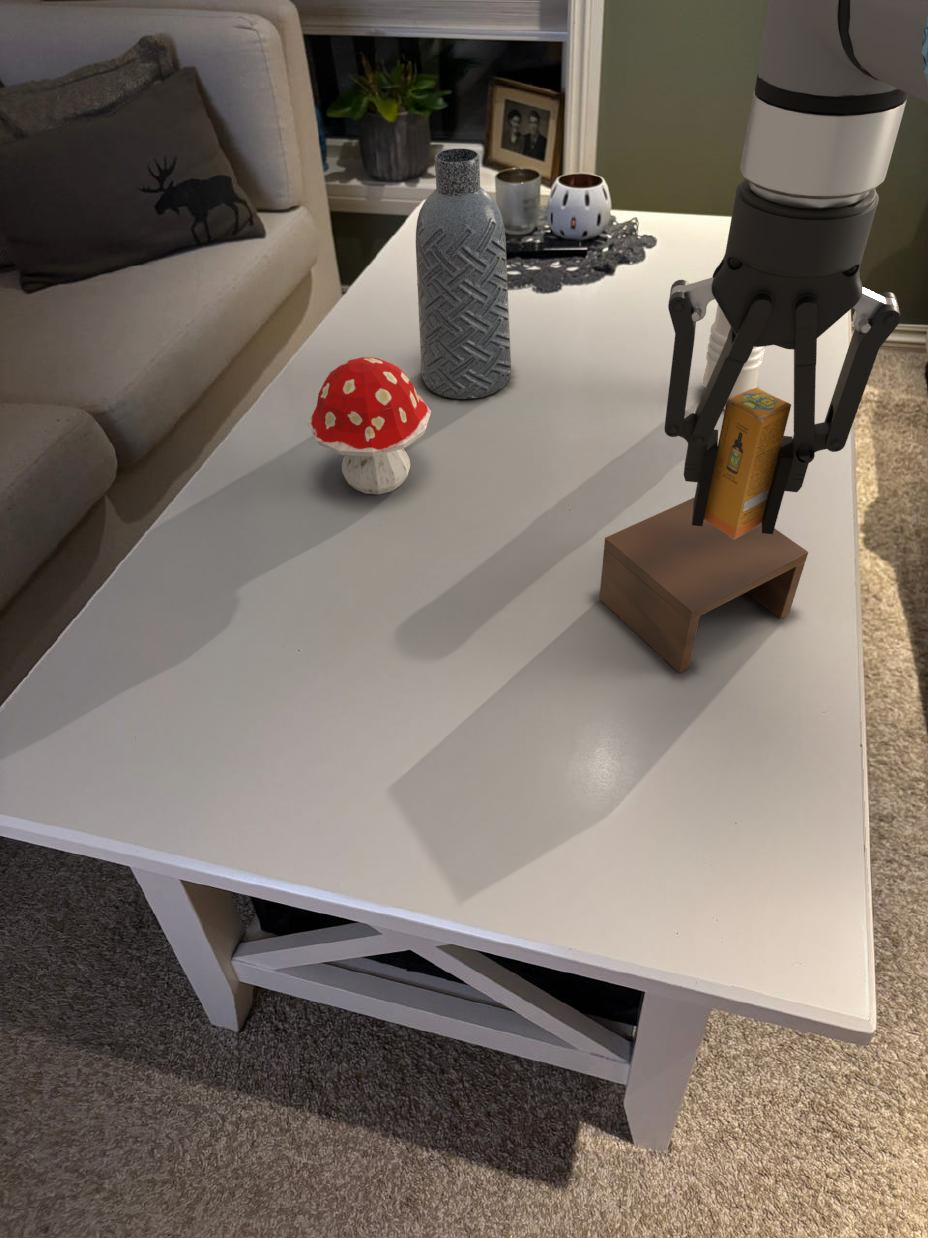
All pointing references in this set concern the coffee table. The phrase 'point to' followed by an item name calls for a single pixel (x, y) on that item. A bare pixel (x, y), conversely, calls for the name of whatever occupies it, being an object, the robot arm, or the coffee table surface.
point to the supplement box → (745, 461)
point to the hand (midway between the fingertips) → (732, 517)
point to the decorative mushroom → (370, 422)
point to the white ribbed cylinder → (715, 347)
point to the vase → (462, 283)
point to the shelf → (692, 576)
